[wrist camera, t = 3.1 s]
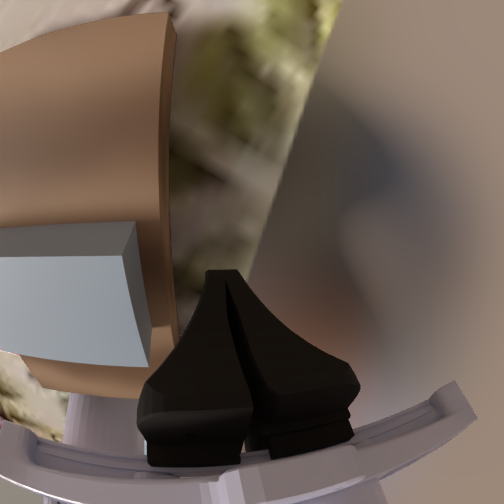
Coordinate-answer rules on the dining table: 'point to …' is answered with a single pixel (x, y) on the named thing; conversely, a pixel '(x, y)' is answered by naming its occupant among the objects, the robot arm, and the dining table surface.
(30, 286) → the blue-grey tile
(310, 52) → the dining table surface
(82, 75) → the board
